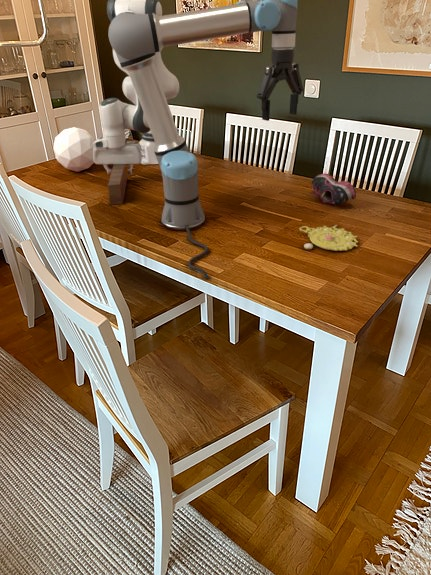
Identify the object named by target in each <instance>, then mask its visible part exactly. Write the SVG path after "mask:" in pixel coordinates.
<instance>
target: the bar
mask: <svg viewBox="0 0 431 575" xmlns="http://www.w3.org/2000/svg"><path fill="white" fill-rule="evenodd" d="M112 165H113V166H112V168H111V174H110V176H109V180H108V182H107V190H108V196H109V203H110V206H111V205H123V204H124V200H125V199H124V198H125V193H126V188H127V183H128V178H127V170H126V164H112Z"/></svg>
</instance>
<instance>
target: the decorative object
mask: <svg viewBox="0 0 431 575" xmlns="http://www.w3.org/2000/svg"><path fill="white" fill-rule="evenodd" d="M303 228H304V229H305V230H304V229H303ZM299 231H300V232H303V233H305V234H307V237H308V238H309V240H310V241H311V243H304V244H303V248H304V249H305V250H313V249H314V245H315V246H316V247H318V248H321V249H324V250H328V251H335V252H341V251H348V250H352V249H354V247H356V248H358V247H359V245H358V244H357V243H359V240H357V238H359V237H358V235H353V234H352V231H347V230H346V229H345V228H344V227H342V228H338V224H335V225H333V226H331V227H328V226H327V225H326V224H325V225H323V226H322V227H321V226H317V227H316V228H314V227H309V226H308V225H302V226H300V227H299ZM313 244H314V245H313Z"/></svg>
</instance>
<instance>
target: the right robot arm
mask: <svg viewBox="0 0 431 575" xmlns="http://www.w3.org/2000/svg"><path fill="white" fill-rule="evenodd" d="M297 17H298V0H238V1H237V2H236V3H235V4H228V5H222V6H216V7H210V8H203V9H197V10H196V9H195V10H190V11H185V12H178V13H172V14H171V13H170V14H164V15H162V16H157V15H155V14H154V13H150V14H134V13H131V12H124V13H120V14H118V15H117V16H116V17H115V18H114V19H113V20H112V22H111V21H110V24H109V26H108V31H107V32H108V34H107V35H108V40H109V44H110V46H111V48H112V50H113V49H114V50H115V52H116V55H117V57H118V60H119V62H120V65H121V68H122V69H124V70H126V71H128V73H129V75H130V78H131V80H132V83H133V86H134V88H135V91H136V93H137V96H138V99H139V101H140V104H141V107H142V109H143V112H144V114H145V117H146V120H147V122H148V125H149V127H150V130H151V133H152V135H153V138H154V140H155V143H156V144H155V147H154V152H155V155H156V158H157V160H158V163H159V164H158V166H159V168H160V172H161V177H162V184H163V194H164V204H163V209H162V213H161V219H160V220H161V225H162V227H163V228H165V229H167V230H170V231H175V232H176V231H177V232H185V231H186V233H187V237H188V240H189V242H190V243H191V244H193V245H195V246H197V247H201V248H203V249H204V251H203V252H201V253H199V254H197V255H195V256H193V257H191V258H190V259H189V260H188V263H187V266H188V267H189V268H190V269H192V270H195V271H197V272H200V273H201V274H202V275H203V277H204V280H206V281H208V280H209V276H208V274H207V272H206V271H205V270H204V269H203V268H201V267H199V266H195V265H194V264H193V265H192V263H193V262H195V261H196V260H198V259H200V258H202V257H204V256H206V255H207V254H208V253H209V247H208V246H207V245H206V244H203V243H202V242H198V241H196V240H194V239H193V237H192V234H191V231H192V230H195V229H198V228H201V227H202V226H203V225H204V224H205V223H206V216H205V212H204V210H203V208H202V204H201V202H200V196H199V179H198V178H199V176H198V168H199V166H198V160H197V157H196V155H194V153H192V152H190V150H189V147H188V145H187V144H188V143H187V142H186V138H185V137H183V136H181V135H180V134H179V131H178V129H177V125H176V123H175V120H174V118H173V114H172V112H171V109H170V106H169V102H168V99H166V97H165V94H164V91H163V88H162V86H161V83H160V80H159V77H158V74H157V71H156V68H155V65H154V59H155V57H156V54H155V52H160V53H161V52H162V50H163V48H165V47H173V46H177V45H183V44H191V43H195V42H201V41H202V42H203V41H209V40H214V39H219V38H225V37H226V38H227V37H232V36H237V35H243V34H251V33H257V32H270V31H271V48H273V49H271V51H270V52H271V53H270V61H271V63H272V65H271V66H265V67H264V71H263V72H264V74H263V77H262V80H261V82H260V86H259V89H258V91H257V95H256V98H257V99H259V100H261V111H262V113H261V114H262V115H261V116H262V117H261V118H262V119H261V120H263V121H267V122H268V121H270V116H271V115H270V113H271V112H270V110H271V100H270V98H271V94H272V93H273V91H274V89H275V88H276V86H277V84H278V83H279V82H280V81H283V80H284V81H285V82H286V83H287V85H288V87H289V89H290V91H291V94H290V99H289V100H290V101H289V115H294V116H295V115H297V112H298V104H299V95H302V93H303V91H304V85H303V82H302V78H301V74H300V65H299V63H296V62H294V61H295V52H296V51H295V49H294V48H295V47H296V34H297V33H296V32H297V31H296V29H297ZM129 75H128V76H129Z"/></svg>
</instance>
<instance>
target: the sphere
mask: <svg viewBox="0 0 431 575" xmlns="http://www.w3.org/2000/svg"><path fill="white" fill-rule="evenodd" d="M95 140H96V139H95V138H94V137H93V135H91V134H90V133H89V132H88V131H87V130H86V129H83V128H81V127H75V126H73V127H68V128H65V129H62V130H61V132H60V133H59V134H58V135H56V136H55V138H54V141H53V142H54V143H53V148H52V149H53V153H54V156H55V158H56V161H57V162H58V163H59V164H60V165H62V166H63V167H64V168H65V169H66V170H69V171H73V172H76V173H78V172H82V171H84V170H87V169H89V168H90V167H92V165H93V164H95V163H94V160H93V149H94V148H95V147H94V146H93V143H94V141H95Z"/></svg>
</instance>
